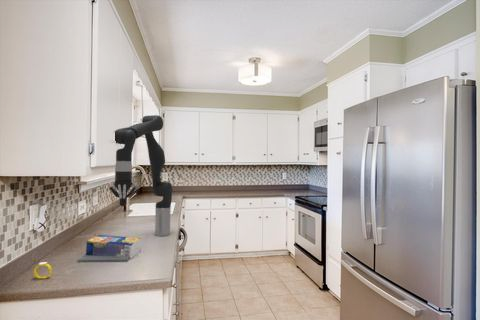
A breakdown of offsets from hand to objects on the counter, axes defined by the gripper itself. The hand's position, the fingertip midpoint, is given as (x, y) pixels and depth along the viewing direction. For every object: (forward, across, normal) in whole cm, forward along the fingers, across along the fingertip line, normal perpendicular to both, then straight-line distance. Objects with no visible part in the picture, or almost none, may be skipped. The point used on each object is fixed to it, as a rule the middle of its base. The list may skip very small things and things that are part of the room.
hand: (122, 205), depth 137 cm
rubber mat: (+24, +6, 0) cm, 25 cm away
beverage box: (+21, -7, -1) cm, 22 cm away
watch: (+24, +22, +25) cm, 41 cm away
